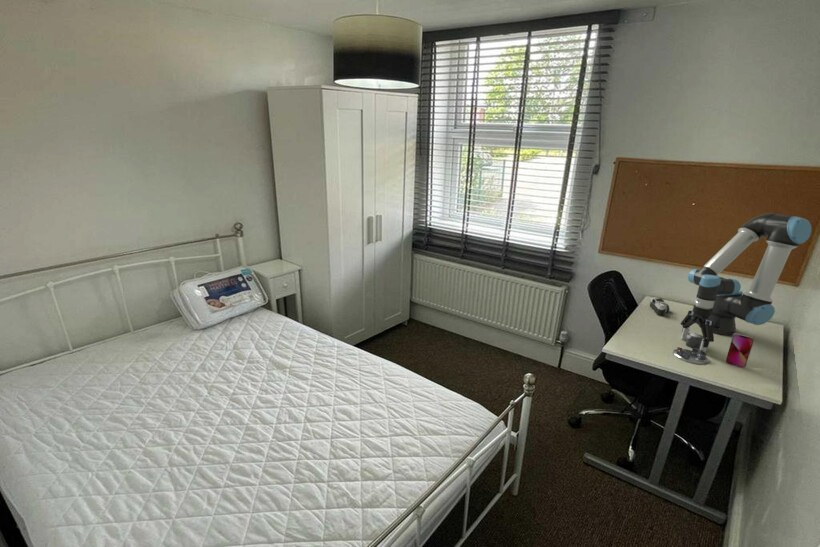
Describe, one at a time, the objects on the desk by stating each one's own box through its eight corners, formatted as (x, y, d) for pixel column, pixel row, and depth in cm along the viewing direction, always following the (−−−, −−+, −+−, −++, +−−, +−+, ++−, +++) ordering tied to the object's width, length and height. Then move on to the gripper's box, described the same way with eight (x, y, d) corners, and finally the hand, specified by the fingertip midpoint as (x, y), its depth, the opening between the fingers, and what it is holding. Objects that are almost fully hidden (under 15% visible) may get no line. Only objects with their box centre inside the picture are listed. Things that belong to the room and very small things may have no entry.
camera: (672, 320, 231) (676, 304, 228) (656, 318, 232) (660, 302, 229) (662, 310, 245) (665, 295, 242) (646, 308, 247) (650, 293, 244)
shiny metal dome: (694, 350, 196) (695, 344, 195) (715, 364, 182) (717, 358, 181) (666, 349, 195) (667, 343, 194) (685, 364, 182) (687, 358, 181)
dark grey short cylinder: (695, 343, 202) (698, 332, 201) (703, 349, 197) (707, 338, 195) (681, 343, 202) (684, 332, 200) (689, 349, 196) (692, 337, 195)
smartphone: (724, 362, 184) (733, 333, 180) (724, 361, 185) (733, 332, 181) (745, 368, 180) (754, 338, 175) (745, 367, 180) (754, 337, 176)
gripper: (678, 297, 205) (669, 334, 211) (714, 316, 181) (702, 358, 187) (693, 297, 205) (683, 335, 211) (730, 316, 181) (718, 358, 188)
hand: (692, 346), depth 199 cm, fingers open, 13 cm apart
